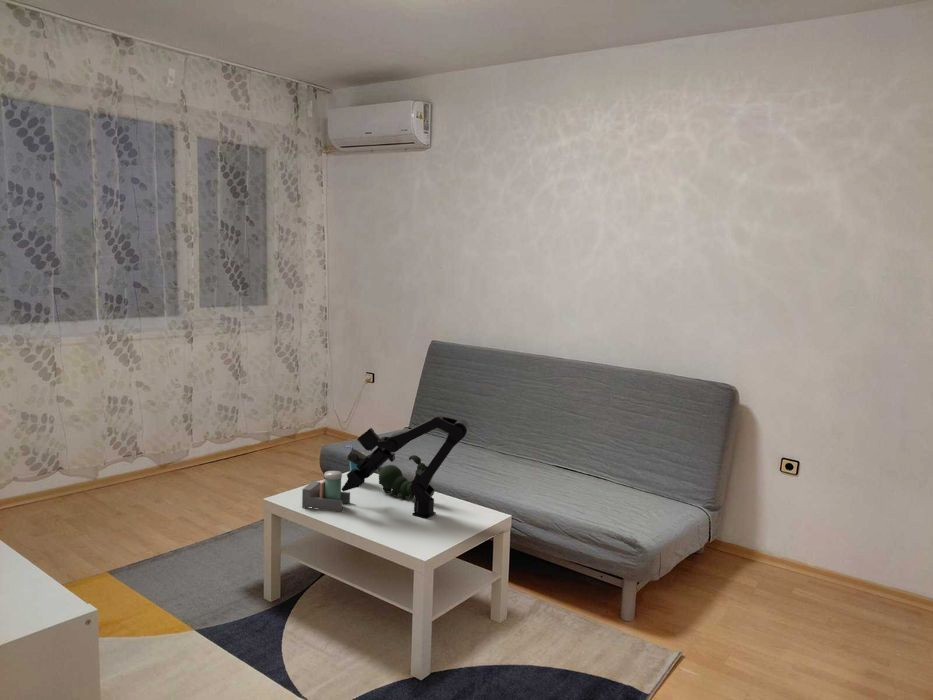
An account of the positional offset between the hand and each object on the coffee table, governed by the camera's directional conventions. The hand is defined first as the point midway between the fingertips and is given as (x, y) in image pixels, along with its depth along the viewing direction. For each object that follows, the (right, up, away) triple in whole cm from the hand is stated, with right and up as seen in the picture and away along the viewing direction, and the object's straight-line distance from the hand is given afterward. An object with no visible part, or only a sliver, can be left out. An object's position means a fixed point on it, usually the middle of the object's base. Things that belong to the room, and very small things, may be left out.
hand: (346, 486), depth 252 cm
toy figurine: (+18, -7, +17) cm, 26 cm away
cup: (-1, -5, +31) cm, 31 cm away
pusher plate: (-8, -7, +2) cm, 11 cm away
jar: (-6, -7, +2) cm, 9 cm away
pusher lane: (-8, -7, +2) cm, 11 cm away
